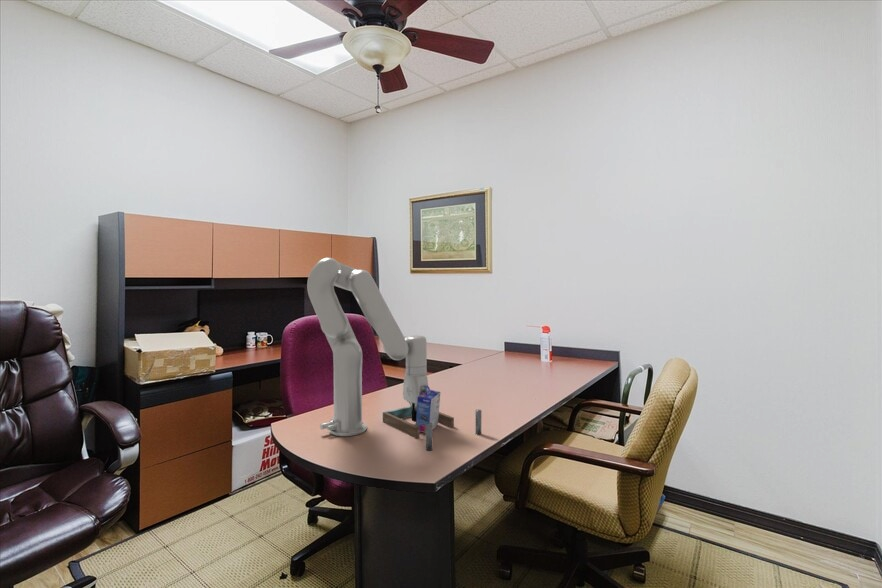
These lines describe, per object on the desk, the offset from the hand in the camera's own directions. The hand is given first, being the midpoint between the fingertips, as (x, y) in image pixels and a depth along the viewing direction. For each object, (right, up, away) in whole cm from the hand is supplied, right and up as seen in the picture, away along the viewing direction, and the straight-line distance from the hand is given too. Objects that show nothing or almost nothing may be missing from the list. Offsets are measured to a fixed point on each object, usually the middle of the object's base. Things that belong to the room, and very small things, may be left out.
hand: (416, 420), depth 151 cm
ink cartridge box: (+4, -1, -5) cm, 6 cm away
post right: (+21, -2, -10) cm, 24 cm away
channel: (+1, -1, -1) cm, 2 cm away
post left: (+5, -2, -23) cm, 24 cm away
